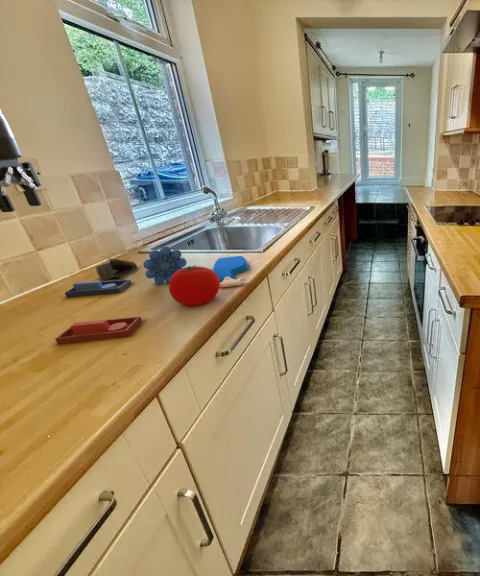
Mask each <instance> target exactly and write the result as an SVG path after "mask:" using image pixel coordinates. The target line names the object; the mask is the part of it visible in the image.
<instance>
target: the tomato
mask: <svg viewBox="0 0 480 576" xmlns="http://www.w3.org/2000/svg"><path fill="white" fill-rule="evenodd" d="M220 283H221V280H220V279H219V277H218V275H217V274H216V273H215V272H214V270H213V269H211V268H208V267H205V266H199V265H198V266H197V264H194V265H191V266H190V265H189V266H184V267H181V268H180V270H178V271H176V272H175V273H174V274H173V275H172V276H171V278H170V282H169V283H168V292H169V294H170V296H171V298H172V299H174V301H175V302H177V303H178V304H180V305H184V306H187V307H197V306H201V305H205V304H207V303H209V302H210V301H211V300H212V299H214V298H215V297H216V296H217V295H218V292H219V290H220V288H221V287H220Z"/></svg>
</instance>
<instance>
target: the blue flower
mask: <svg viewBox="0 0 480 576" xmlns="http://www.w3.org/2000/svg"><path fill="white" fill-rule="evenodd" d="M148 257H149V258H147V259H146V260H144V261H143V264H142V265H143V268H144V269H146V270H145V273H144V274H145V277H146V278H147V279H149V280H150V279H151V280H152V279H153V281H154V283H155V284H156V285H161V284H163V283H165V282H166V283H167V284H169V282H170V278H171V276H172V275H173V274H174V273H175V272H176V271H178V270H180V268H185V267H186V266H187V259H185V257H182V251H181V250H179V249H173V250H172V248H171V247H169V246H162V247H161V248H160V250H157V249H156V250H152V251H150V252H149V253H148Z"/></svg>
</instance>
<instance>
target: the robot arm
mask: <svg viewBox="0 0 480 576" xmlns="http://www.w3.org/2000/svg"><path fill="white" fill-rule="evenodd" d="M22 157H23V153H22V152H21V149H20V148H19V146H18V143H17V141H16V138H15V136H14V134H13V131H12V130H11V127H10V125H9V123H8V121H7V120H6V118H5V116H4V114H3V112H2V110H1V109H0V211H1V213H12V212H15V207H14V205H13V203H12V201H11V198H10V197H9V195H8V194H7V192H8V188H9V187H10V186H11V184H14V185H17V186H18V187H19V188H20V189H21V190H22V192H23V195H24V197H25V200H26V202H27V203H28V205H29V206H30V207H38V206H39V207H40V206H41V205H42V203H41V202H42V201H41V199H40V197H39V195H38V193H37V190H38V188H40V187H42V183H41V182H40V180H39V177H38V175H37V172H36V171H35V169H34V167H33V165H32V163H31V162H30V161H19V160H18V159H20V158H22Z"/></svg>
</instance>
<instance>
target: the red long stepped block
mask: <svg viewBox="0 0 480 576" xmlns="http://www.w3.org/2000/svg"><path fill="white" fill-rule="evenodd" d="M108 320H109V319H99V320H90V321H81V322H74V323H73V324H72V325H70V327H71V329H72V331H73V333H74V334H73V336H77V335H86V334H95V333H104V332H113V331H122V330H126V329H127V328H128V327H129V326H128V324H126V323H124V322H121V323H116V324H113V325H111V326H110V325H109V323H108Z"/></svg>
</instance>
